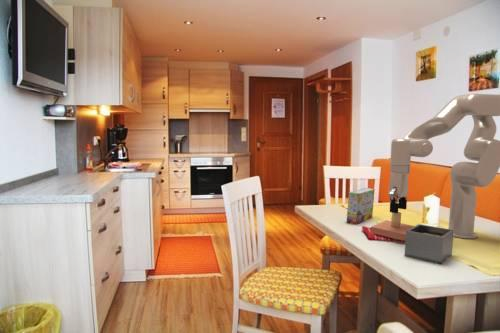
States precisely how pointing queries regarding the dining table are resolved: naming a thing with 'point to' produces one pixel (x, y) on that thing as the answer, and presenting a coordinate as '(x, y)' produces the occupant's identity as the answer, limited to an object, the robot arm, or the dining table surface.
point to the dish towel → (378, 236)
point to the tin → (429, 243)
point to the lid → (392, 228)
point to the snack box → (360, 205)
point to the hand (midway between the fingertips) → (398, 210)
